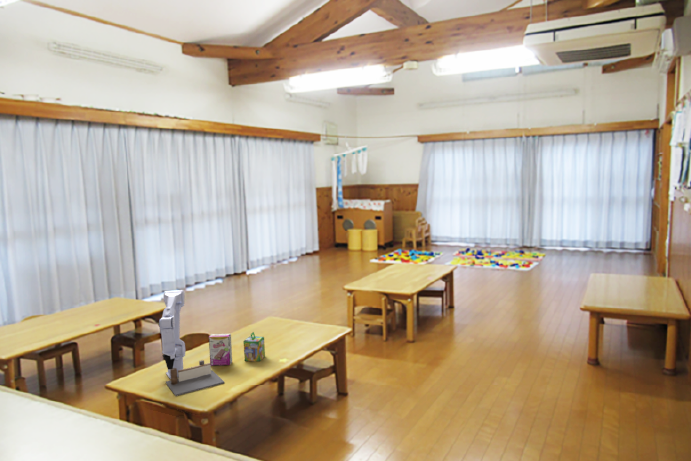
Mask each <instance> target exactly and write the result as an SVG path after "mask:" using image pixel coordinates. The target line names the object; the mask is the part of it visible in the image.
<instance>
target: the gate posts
mask: <svg viewBox="0 0 691 461" xmlns="http://www.w3.org/2000/svg"><path fill="white" fill-rule="evenodd" d="M198 364H199V365H203V364H205V360H203V359H201V360H199V361H198ZM199 365H198V366H199ZM170 373H171V379H170V380H171V384H172V385H175V384H177V383H178V377H177V368H173V369H170Z"/></svg>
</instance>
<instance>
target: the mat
mask: <svg viewBox="0 0 691 461" xmlns="http://www.w3.org/2000/svg"><path fill="white" fill-rule="evenodd" d="M177 379H178V383H177V384H175V385H172V384H171V379H170V380H167V381H165V384H166V385H167V387H168V388H169V389H170V390H171V392H172V394H173V395H174V396H175V397H178V396H182V395H185V394H190V393H194V392H198V391H201V390H204V389H208V388H211V387H212V388H213V387H216V386H220V385H223V384H225V380H224V379H223V378H222V377H220V376H219V375H218V374H217V373H216V372H215V371H214V370H213V369H211V374H207V375H203V376H199V377H195V378H192V379H188V380H184V381H180V382H179V377H177Z"/></svg>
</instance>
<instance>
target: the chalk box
mask: <svg viewBox="0 0 691 461" xmlns="http://www.w3.org/2000/svg"><path fill="white" fill-rule="evenodd" d="M265 348H266V347H265V337H264V336H256V335H255V331H252V333H250V336H248V337H247V338H245V339H244V340H243V355H244V362H261V361H262V360H263V359H264V358H265V357H266V349H265Z"/></svg>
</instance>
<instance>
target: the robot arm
mask: <svg viewBox="0 0 691 461" xmlns="http://www.w3.org/2000/svg"><path fill="white" fill-rule="evenodd" d="M163 302H164V305H165V308H164V309H163V311H162V316H161V318H159V321H158V326H159V331H160V332H159V334H161V348H162V352H161V353H162V357H163V359H164V361H165V365H166V368H167V372H166V373H165V374H166V375H167V377H168V378H169V379H170V380H171V373H170V369H173V368H177V378H179V377H178V370H183V369H184V357H185V356H186V343H185V341H183V340H182V339H180V338H181V334H180V332H181V331H180V328H181V327H180V324H181V309H182V308H183V307H184V306H185V290H184V289H180V290H179V289H178V290H164V292H163Z"/></svg>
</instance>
